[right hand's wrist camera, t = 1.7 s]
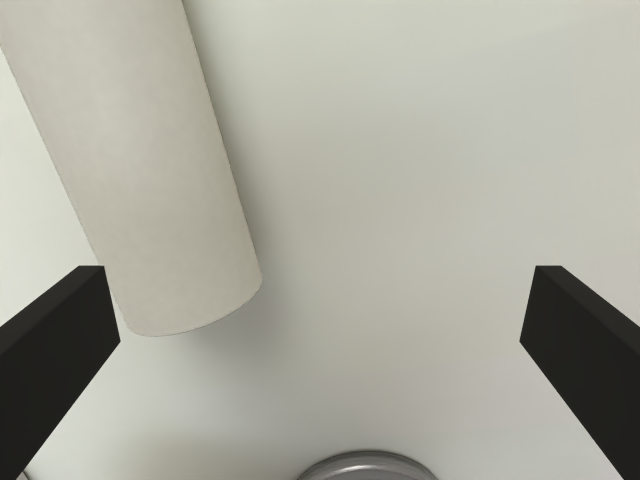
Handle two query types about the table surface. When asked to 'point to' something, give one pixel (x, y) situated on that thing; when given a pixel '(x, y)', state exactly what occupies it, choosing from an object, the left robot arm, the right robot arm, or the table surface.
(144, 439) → the table surface
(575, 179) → the table surface
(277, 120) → the table surface
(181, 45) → the white cylinder
